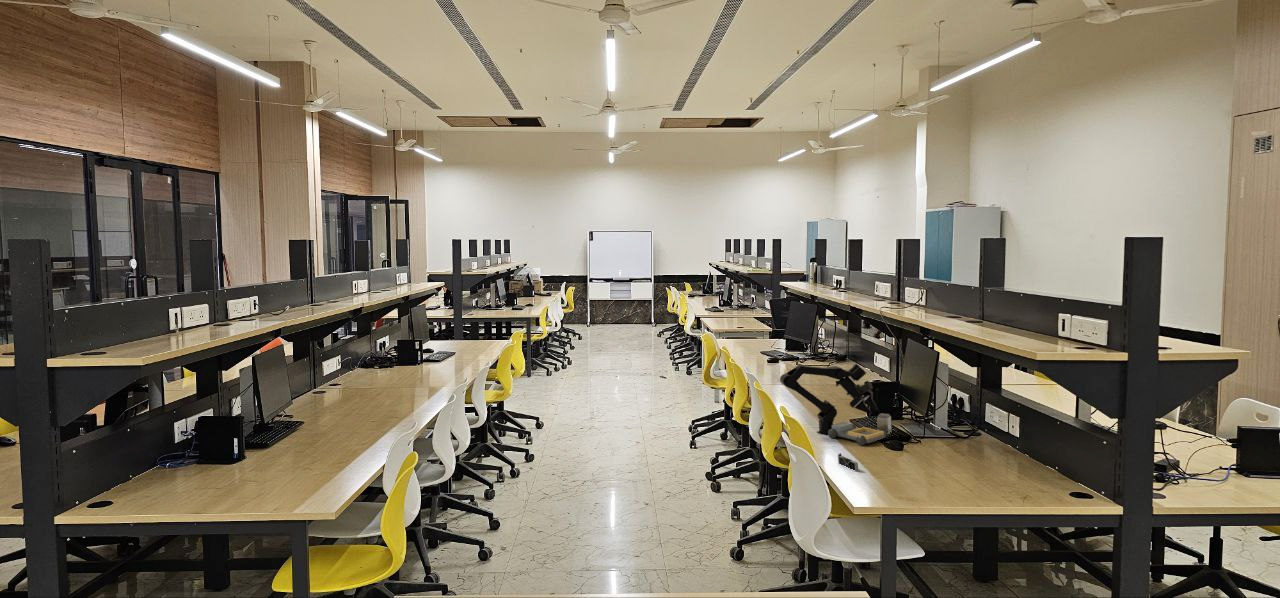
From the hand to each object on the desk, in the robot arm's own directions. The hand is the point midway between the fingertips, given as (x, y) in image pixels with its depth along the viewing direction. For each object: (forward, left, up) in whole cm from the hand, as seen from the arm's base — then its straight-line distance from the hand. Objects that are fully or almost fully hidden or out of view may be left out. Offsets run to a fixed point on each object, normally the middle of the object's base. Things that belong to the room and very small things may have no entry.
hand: (874, 411), depth 337 cm
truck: (-1, -13, -11) cm, 17 cm away
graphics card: (+25, -48, -11) cm, 56 cm away
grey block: (+4, +1, -11) cm, 12 cm away
